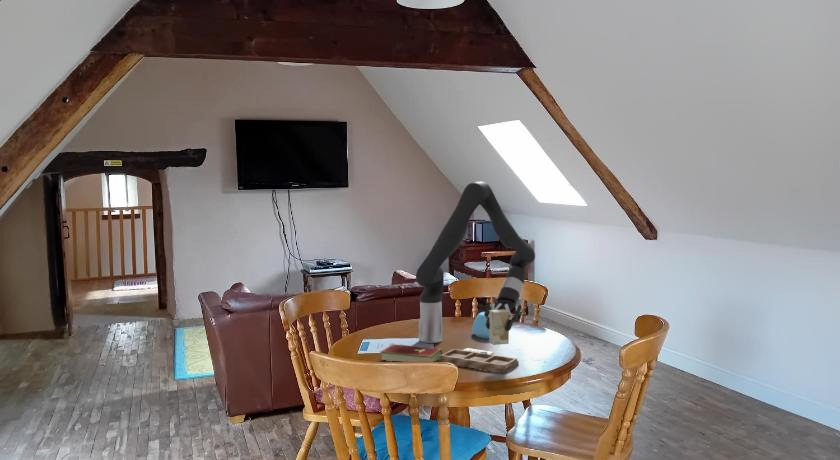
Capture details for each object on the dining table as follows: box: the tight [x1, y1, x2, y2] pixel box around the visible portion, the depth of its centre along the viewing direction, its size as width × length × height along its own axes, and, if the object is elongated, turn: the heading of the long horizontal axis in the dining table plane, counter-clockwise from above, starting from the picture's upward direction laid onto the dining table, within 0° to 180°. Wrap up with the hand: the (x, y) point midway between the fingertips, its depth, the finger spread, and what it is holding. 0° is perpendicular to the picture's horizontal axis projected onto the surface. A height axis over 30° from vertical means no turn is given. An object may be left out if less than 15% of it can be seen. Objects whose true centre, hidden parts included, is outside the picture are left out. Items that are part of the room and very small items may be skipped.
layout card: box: [463, 347, 494, 355], centre depth 254 cm, size 12×7×1 cm, turn 57°
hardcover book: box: [380, 343, 443, 362], centre depth 248 cm, size 12×21×4 cm, turn 67°
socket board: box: [438, 348, 520, 375], centre depth 239 cm, size 27×13×3 cm, turn 57°
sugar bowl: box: [471, 311, 489, 339], centre depth 282 cm, size 15×15×12 cm
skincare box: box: [488, 309, 510, 346], centre depth 234 cm, size 6×4×12 cm
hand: (497, 328), depth 232 cm, fingers closed on skincare box, 7 cm apart
